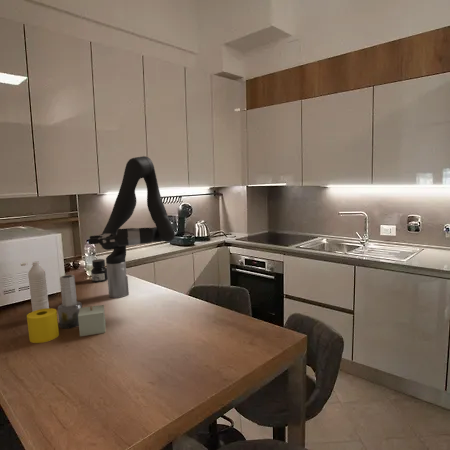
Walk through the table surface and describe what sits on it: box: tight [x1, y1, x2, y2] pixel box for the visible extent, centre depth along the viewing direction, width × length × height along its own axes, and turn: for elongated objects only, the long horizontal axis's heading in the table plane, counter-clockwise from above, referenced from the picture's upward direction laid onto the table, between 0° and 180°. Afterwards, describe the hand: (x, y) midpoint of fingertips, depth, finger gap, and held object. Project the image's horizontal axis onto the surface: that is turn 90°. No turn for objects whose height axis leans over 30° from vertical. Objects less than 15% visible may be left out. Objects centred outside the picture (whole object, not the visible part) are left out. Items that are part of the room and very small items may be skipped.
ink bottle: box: [90, 258, 108, 283], centre depth 208 cm, size 10×9×12 cm
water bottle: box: [20, 261, 50, 312], centre depth 152 cm, size 9×6×25 cm
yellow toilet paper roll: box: [26, 307, 60, 344], centre depth 134 cm, size 10×10×9 cm
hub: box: [57, 300, 83, 329], centre depth 146 cm, size 9×9×10 cm
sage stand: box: [78, 304, 107, 337], centre depth 139 cm, size 9×9×10 cm
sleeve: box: [59, 274, 78, 308], centre depth 145 cm, size 5×5×12 cm
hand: (89, 240), depth 151 cm, fingers open, 8 cm apart
